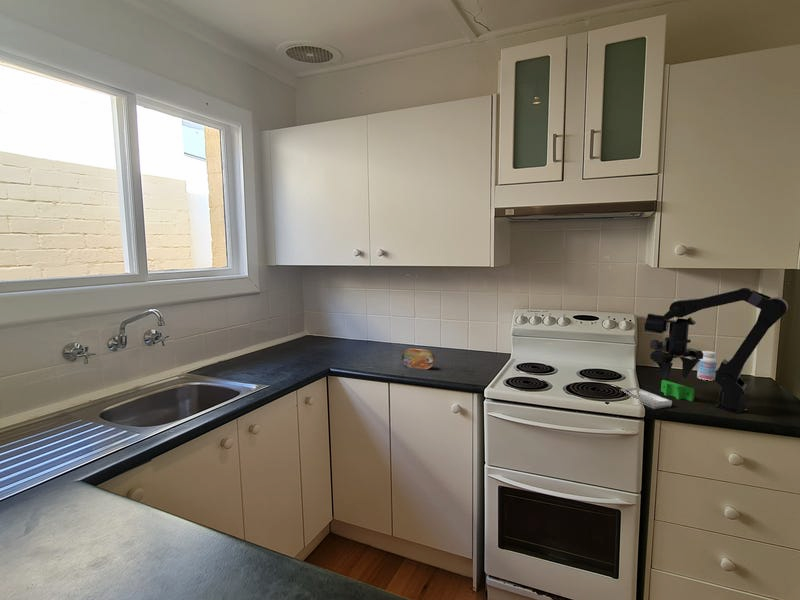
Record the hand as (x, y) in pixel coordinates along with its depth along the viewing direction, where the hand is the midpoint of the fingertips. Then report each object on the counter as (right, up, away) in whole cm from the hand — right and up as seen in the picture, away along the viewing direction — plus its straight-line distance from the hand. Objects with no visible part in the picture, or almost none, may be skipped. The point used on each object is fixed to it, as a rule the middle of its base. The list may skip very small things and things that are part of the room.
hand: (674, 378), depth 157 cm
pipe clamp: (+1, -7, +1) cm, 7 cm away
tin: (-90, -2, +36) cm, 97 cm away
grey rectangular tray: (-12, -7, -3) cm, 15 cm away
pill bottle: (+27, -4, +22) cm, 35 cm away
